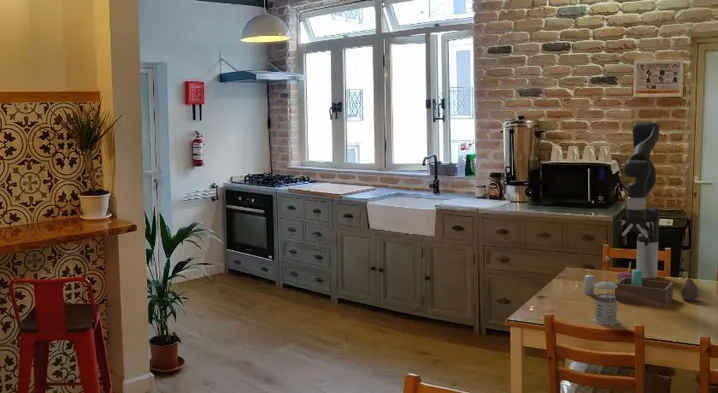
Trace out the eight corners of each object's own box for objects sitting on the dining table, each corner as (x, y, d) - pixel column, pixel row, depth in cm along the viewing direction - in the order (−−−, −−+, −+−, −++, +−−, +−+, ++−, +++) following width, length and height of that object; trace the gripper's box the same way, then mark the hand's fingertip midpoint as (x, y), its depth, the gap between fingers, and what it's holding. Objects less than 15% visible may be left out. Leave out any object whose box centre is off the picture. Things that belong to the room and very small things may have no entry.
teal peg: (632, 296, 305) (633, 269, 304) (642, 298, 303) (643, 270, 302) (630, 298, 302) (630, 271, 301) (639, 300, 300) (640, 272, 298)
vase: (700, 302, 295) (700, 281, 294) (682, 301, 296) (683, 281, 295) (695, 298, 302) (696, 277, 301) (678, 297, 303) (679, 277, 302)
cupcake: (632, 284, 325) (633, 259, 324) (638, 289, 317) (638, 263, 315) (613, 284, 326) (613, 259, 325) (618, 289, 318) (618, 263, 316)
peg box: (623, 292, 312) (624, 276, 311) (672, 298, 301) (673, 282, 300) (614, 299, 301) (615, 283, 300) (664, 306, 289) (665, 290, 289)
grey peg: (586, 292, 314) (586, 274, 313) (595, 293, 312) (595, 275, 311) (583, 294, 311) (583, 276, 310) (592, 295, 308) (592, 277, 307)
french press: (613, 316, 278) (614, 253, 275) (625, 325, 266) (627, 260, 263) (588, 317, 277) (589, 254, 274) (599, 326, 266) (600, 260, 263)
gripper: (656, 207, 300) (655, 245, 302) (621, 205, 308) (620, 242, 310) (652, 210, 294) (650, 248, 296) (616, 207, 302) (615, 245, 304)
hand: (635, 245), depth 303 cm, fingers open, 8 cm apart
